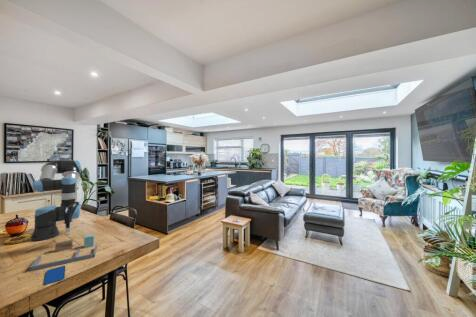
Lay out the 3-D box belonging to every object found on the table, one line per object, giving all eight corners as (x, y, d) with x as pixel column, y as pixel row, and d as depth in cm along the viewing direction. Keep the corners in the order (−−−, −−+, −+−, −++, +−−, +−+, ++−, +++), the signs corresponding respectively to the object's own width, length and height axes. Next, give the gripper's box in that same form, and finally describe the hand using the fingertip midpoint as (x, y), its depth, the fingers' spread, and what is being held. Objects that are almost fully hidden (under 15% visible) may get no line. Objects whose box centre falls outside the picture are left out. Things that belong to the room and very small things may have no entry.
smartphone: (43, 285, 88) (46, 270, 99) (43, 287, 88) (46, 272, 99) (64, 278, 93) (65, 265, 104) (64, 280, 93) (65, 266, 104)
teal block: (85, 245, 130) (85, 235, 130) (94, 243, 133) (94, 233, 133) (84, 248, 126) (84, 237, 126) (93, 246, 129) (93, 236, 129)
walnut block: (56, 250, 123) (56, 242, 123) (72, 246, 128) (72, 239, 128) (55, 252, 120) (55, 244, 120) (71, 249, 125) (71, 241, 125)
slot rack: (38, 259, 111) (38, 256, 111) (97, 247, 126) (97, 244, 126) (28, 271, 99) (28, 267, 99) (94, 257, 114) (94, 253, 114)
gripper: (63, 197, 136) (63, 230, 136) (58, 200, 125) (58, 236, 125) (77, 196, 140) (76, 228, 140) (73, 199, 129) (72, 233, 129)
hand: (68, 231), depth 132 cm, fingers closed
